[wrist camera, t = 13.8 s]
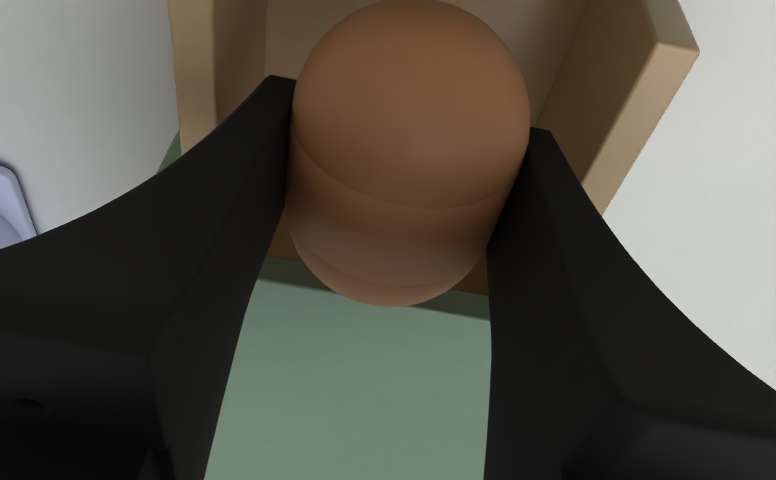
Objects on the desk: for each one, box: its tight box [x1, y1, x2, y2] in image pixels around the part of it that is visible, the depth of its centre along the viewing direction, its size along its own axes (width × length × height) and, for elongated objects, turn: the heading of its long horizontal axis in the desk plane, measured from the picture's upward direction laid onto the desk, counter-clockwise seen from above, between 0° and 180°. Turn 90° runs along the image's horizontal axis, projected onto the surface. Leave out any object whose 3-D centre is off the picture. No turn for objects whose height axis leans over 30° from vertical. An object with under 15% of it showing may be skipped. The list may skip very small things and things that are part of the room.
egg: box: [285, 0, 531, 307], centre depth 12 cm, size 6×4×4 cm
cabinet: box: [156, 130, 491, 480], centre depth 22 cm, size 14×12×8 cm
